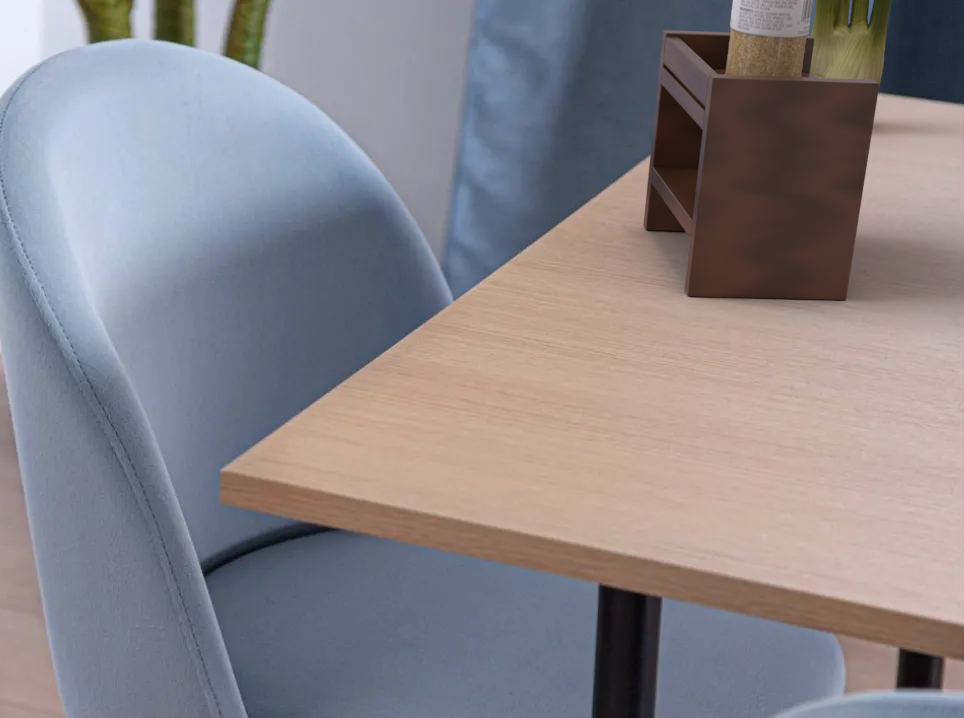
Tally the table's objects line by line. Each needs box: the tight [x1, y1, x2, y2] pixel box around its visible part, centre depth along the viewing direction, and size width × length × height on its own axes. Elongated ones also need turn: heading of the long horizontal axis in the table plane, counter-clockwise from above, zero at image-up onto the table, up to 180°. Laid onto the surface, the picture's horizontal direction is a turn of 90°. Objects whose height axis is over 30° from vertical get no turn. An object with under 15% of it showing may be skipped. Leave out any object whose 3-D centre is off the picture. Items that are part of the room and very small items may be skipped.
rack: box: [642, 29, 880, 301], centre depth 102 cm, size 9×14×12 cm, turn 4°
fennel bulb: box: [810, 0, 892, 86], centre depth 136 cm, size 6×5×12 cm
